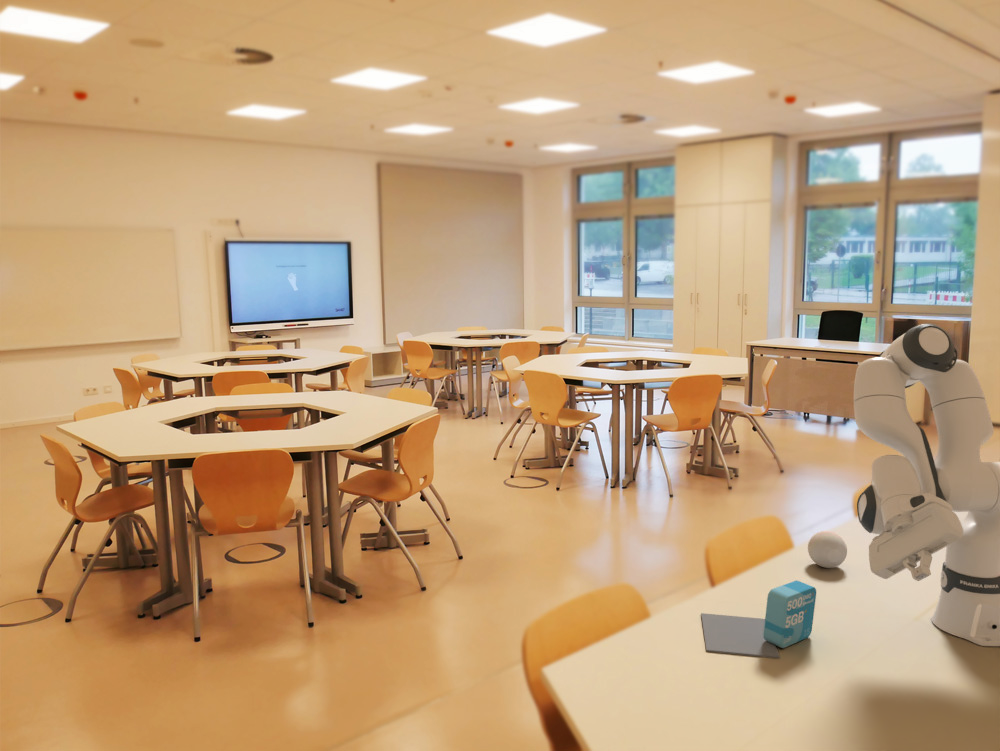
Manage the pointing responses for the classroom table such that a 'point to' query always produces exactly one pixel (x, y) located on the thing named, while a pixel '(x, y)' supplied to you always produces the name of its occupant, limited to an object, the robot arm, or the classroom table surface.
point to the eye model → (827, 549)
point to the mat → (737, 636)
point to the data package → (789, 613)
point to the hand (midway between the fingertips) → (922, 577)
